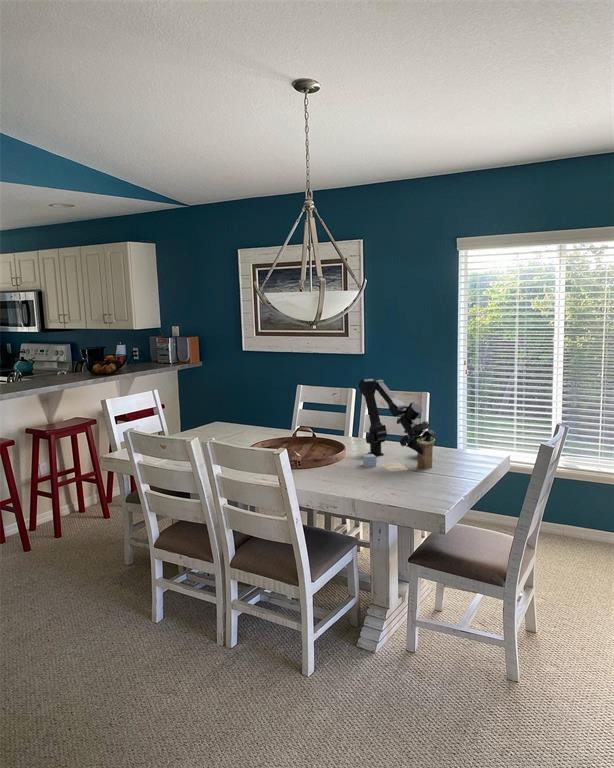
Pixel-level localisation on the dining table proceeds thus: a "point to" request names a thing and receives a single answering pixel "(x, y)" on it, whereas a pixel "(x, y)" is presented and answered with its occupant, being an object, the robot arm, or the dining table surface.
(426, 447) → the wooden cuboid post
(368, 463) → the slate cube
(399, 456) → the dining table surface
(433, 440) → the plant pot
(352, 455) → the dining table surface
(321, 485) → the dining table surface
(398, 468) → the letter
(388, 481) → the dining table surface
